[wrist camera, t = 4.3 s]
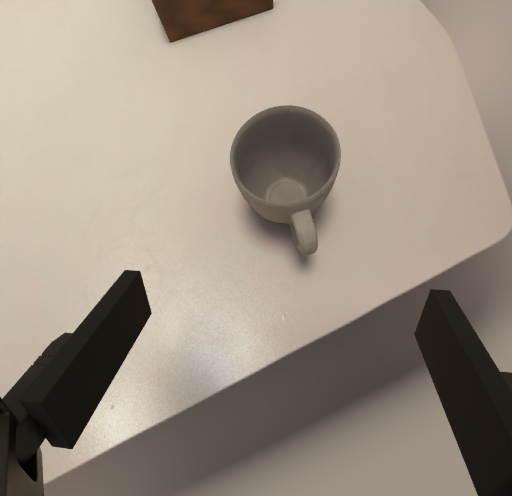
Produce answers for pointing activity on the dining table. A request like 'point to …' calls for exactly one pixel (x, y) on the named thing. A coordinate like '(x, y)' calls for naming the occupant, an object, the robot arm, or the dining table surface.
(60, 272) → the dining table surface
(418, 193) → the dining table surface
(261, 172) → the mug
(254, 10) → the riser
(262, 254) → the dining table surface
